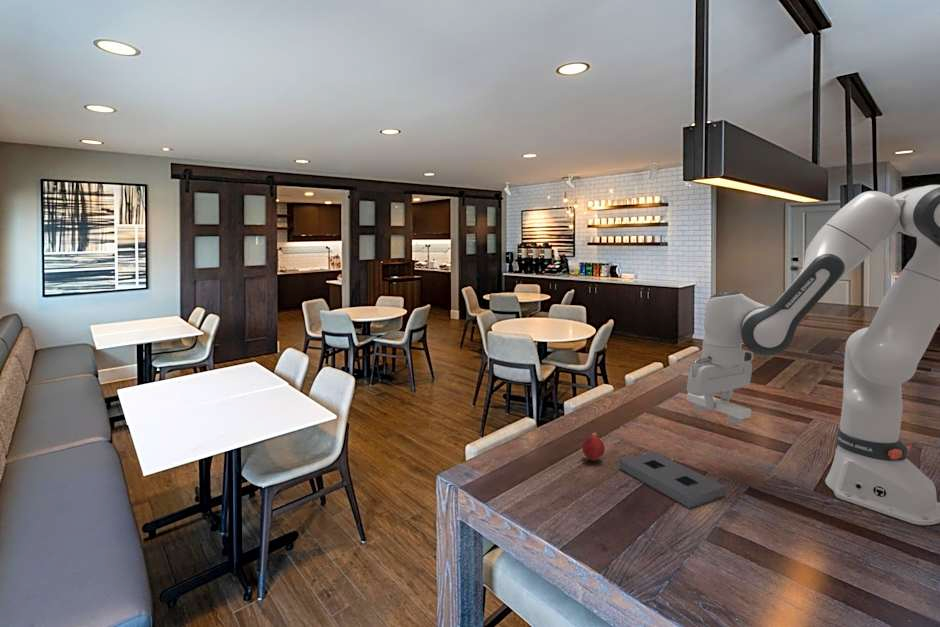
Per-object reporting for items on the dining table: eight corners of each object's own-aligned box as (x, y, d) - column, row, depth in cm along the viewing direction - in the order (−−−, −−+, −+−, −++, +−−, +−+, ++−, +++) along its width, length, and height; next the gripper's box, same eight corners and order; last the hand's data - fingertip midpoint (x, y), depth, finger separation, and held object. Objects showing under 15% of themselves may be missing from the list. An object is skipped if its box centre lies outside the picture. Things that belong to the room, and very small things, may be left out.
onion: (588, 466, 134) (589, 438, 133) (578, 457, 139) (579, 430, 138) (607, 464, 135) (609, 435, 134) (597, 455, 141) (598, 428, 140)
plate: (725, 496, 119) (725, 486, 118) (689, 508, 113) (690, 498, 113) (652, 459, 138) (653, 451, 137) (619, 469, 132) (620, 460, 132)
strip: (750, 424, 124) (751, 409, 124) (740, 427, 123) (742, 411, 122) (695, 405, 138) (696, 391, 138) (686, 407, 137) (687, 393, 136)
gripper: (704, 362, 121) (700, 417, 123) (758, 353, 130) (753, 404, 132) (682, 356, 126) (679, 409, 128) (735, 348, 135) (731, 398, 137)
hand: (717, 407), depth 130 cm, fingers closed on strip, 3 cm apart
